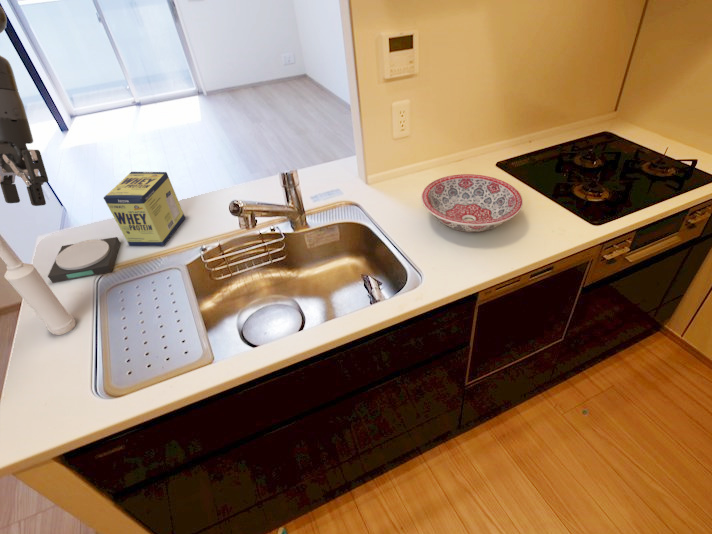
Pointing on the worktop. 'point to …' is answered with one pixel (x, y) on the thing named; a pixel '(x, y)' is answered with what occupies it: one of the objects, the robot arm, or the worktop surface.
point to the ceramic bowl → (471, 201)
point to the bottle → (36, 293)
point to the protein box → (145, 208)
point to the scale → (85, 259)
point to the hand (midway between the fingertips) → (26, 204)
